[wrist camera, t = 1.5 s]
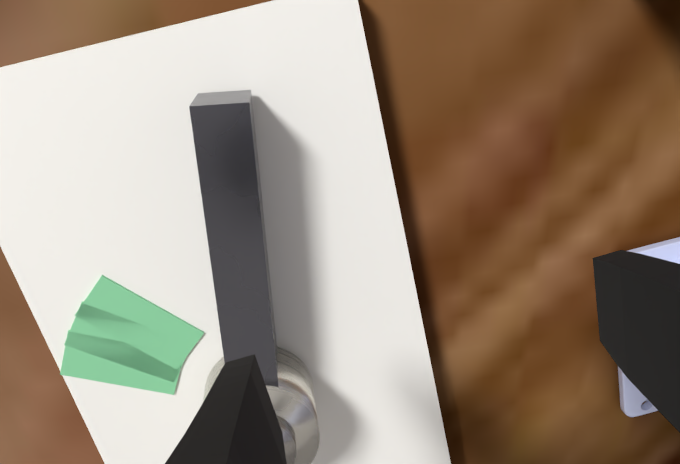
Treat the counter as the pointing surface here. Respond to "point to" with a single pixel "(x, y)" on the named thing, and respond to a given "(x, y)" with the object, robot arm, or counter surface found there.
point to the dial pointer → (247, 264)
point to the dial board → (191, 237)
